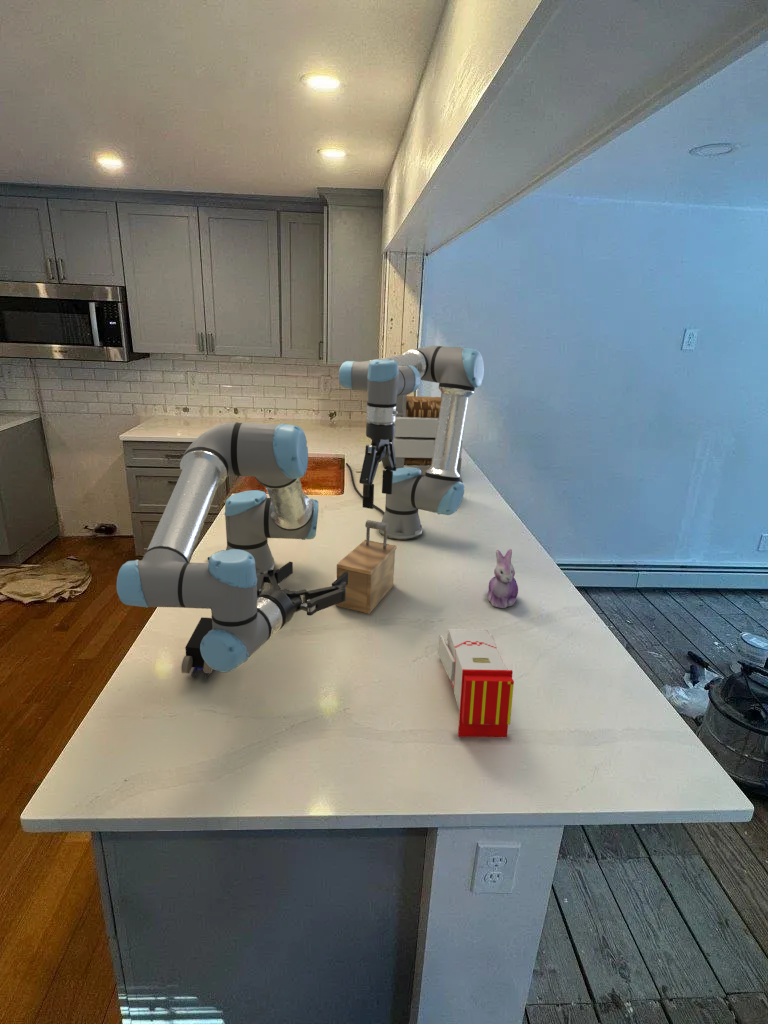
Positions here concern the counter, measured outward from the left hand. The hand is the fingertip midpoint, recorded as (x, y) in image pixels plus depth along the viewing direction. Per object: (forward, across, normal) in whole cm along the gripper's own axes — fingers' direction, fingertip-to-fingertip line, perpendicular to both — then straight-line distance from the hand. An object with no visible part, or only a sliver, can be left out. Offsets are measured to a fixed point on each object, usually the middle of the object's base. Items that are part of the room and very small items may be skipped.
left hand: (318, 572), depth 125 cm
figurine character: (-15, -19, -19) cm, 31 cm away
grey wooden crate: (+154, -24, -14) cm, 156 cm away
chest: (+28, 0, -18) cm, 34 cm away
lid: (+28, 0, -7) cm, 29 cm away
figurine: (+41, +35, -19) cm, 58 cm away
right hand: (+34, +1, +8) cm, 35 cm away
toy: (-1, +36, -20) cm, 41 cm away
